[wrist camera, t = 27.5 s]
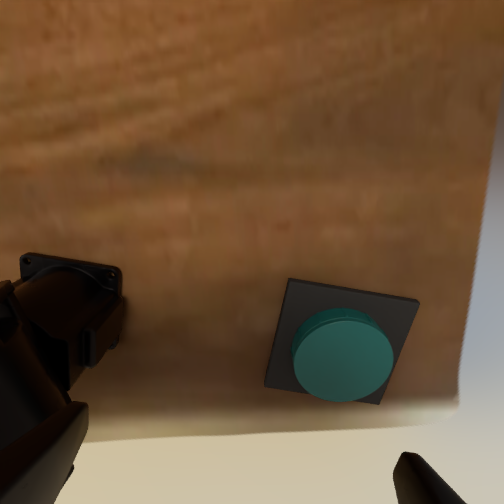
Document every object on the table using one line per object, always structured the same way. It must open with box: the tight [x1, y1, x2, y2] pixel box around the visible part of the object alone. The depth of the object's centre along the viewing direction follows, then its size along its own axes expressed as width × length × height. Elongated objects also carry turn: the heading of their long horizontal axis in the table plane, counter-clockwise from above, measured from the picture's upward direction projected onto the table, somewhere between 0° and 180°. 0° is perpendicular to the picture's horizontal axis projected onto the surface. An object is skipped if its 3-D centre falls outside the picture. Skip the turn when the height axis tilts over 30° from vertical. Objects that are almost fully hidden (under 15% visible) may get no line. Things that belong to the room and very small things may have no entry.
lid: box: [290, 307, 393, 402], centre depth 22 cm, size 6×6×2 cm
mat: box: [264, 278, 420, 405], centre depth 23 cm, size 9×9×1 cm
